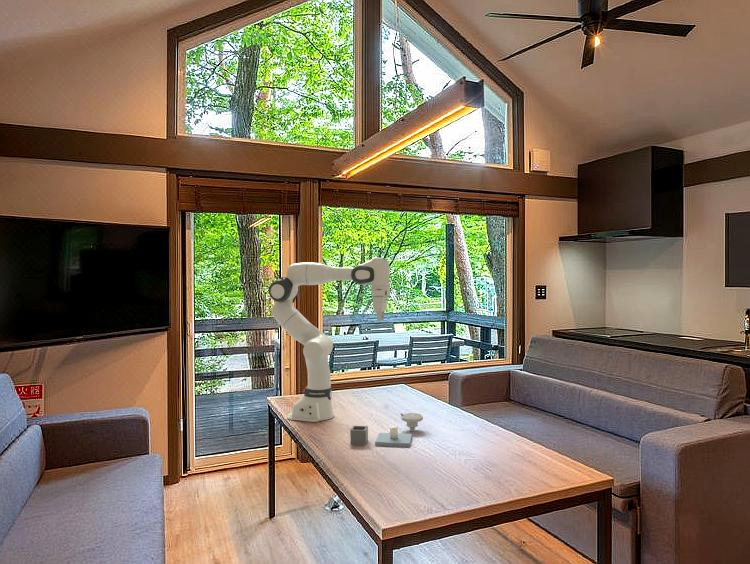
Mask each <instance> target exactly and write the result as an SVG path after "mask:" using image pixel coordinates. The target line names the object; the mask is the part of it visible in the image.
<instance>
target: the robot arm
mask: <svg viewBox="0 0 750 564" xmlns="http://www.w3.org/2000/svg"><path fill="white" fill-rule="evenodd" d="M390 269H391V268H390V263H389V261H388V259H386V258H384V257H377V256H374V257H372V258H371V259H369V260H368V261H365V262H364V263H361V264H357V265H355V266H354V267H338V266H337V267H336V266H332V265H327V264H324V263H321V262H313V261H311V262H309V261H306V262H296V263H291V264H290V265H289V266H288V267H287V268H286V275H285V276H281V277H279V278H278V279H276V280H274V281H273V282H272V283H270V285H269V287H268V295H269V297H270V298H271V299H272V300H273V301H274V302H275V303H274V304H273V305H272V307H271V311H270V312H271V315H272V317H273V318H274V320H276V321H275V322H277V324H279V326H280V327H281V328H282V329H283V330H284V331H285V332H286V333H287V334H288V335H289V336H290V337H291V338H292V340H293V339H294V340H295V341H297V342H299V343H300V344H302V346H303V349H302V353H303V356H304V360H305V365H306V372H307V386H306V387H305V388H304V389H303V395H302V397H300V398H299V399H298V400H297V401H296V402H294V404H293V405H292V411H291V412H289V413H288V414H287V417H286V418H287V419H288V420H292V421H302V422H310V423H311V422H312V423H317V422H320V421H326V420H330V419H333V418H334V417H335V413H334V410H333V409H334V408H333V404H332V398H333V391H332V385H331V382H332V381H331V380H332V379H331V369H330V366H329V359H328V356H329V355H330V354H331V353H332V351H333V348H334V342H333V340H332V338H331V337H329V336H328V335H326V334H325V333H324V332H323V331H321V330H320V329H319V328H318V327H316V326H315V325H313V324H312V323H311V322H310V321H309V320H308V319H307V318H306V317H305V316H304V315H303V314H302V313H301V312H300V311H299V310H298V309H297V308H296V307H295V306H294V303H295V301H296V299H297V297H298V295H299V293H300V286H316V285H317V286H318V285H323V284H327V283H332V282H334V281H353V282H354V283H355V284H357V285H361V286H363V285H370V293H371V294H370V295H371V297H372V306H373V308H372V309H373V312H374V313H375V314H376V322H377V323H381V322H382V321H384V320H385V312H386V310H387V309H388V303H387V302H388V296H390V295H391V286H390V285H391V284H390V276H391V274H390V273H391V272H390V271H391V270H390Z"/></svg>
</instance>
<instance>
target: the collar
mask: <svg viewBox="0 0 750 564" xmlns="http://www.w3.org/2000/svg"><path fill="white" fill-rule="evenodd" d="M349 437H350V445H351V446H366V445H367V443H368V441H369V426H368V425H353V426H352V427H351V429H350V436H349Z"/></svg>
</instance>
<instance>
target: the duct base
mask: <svg viewBox="0 0 750 564" xmlns="http://www.w3.org/2000/svg"><path fill="white" fill-rule="evenodd" d="M398 429H399V427H398V426H397V425H391V426H390V427H389V432H379V433H378V435H377V437H376V439H375V442H374V446H375V447H376V446H377V447H396V448H397V447H398V448H399V447H400V448H402V447H403V448H410V447H411V444H412V441H413V440H412V439H413V433H399V430H398Z"/></svg>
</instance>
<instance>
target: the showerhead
mask: <svg viewBox="0 0 750 564" xmlns="http://www.w3.org/2000/svg"><path fill="white" fill-rule="evenodd" d="M399 415H400V416H401V421H403V422H406V426H407V428H409V431H410V432H414V431H415V428H417V427H418V426H419V425H418V423H419V422H422V421H423V420H424V416H423V415H422V414H420V413H417V412H416V413H414V412H413V413H412V412H410V413H409V412H407V413H400V414H399Z"/></svg>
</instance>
